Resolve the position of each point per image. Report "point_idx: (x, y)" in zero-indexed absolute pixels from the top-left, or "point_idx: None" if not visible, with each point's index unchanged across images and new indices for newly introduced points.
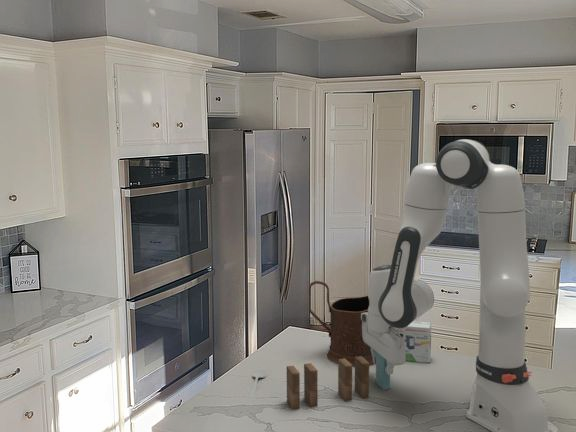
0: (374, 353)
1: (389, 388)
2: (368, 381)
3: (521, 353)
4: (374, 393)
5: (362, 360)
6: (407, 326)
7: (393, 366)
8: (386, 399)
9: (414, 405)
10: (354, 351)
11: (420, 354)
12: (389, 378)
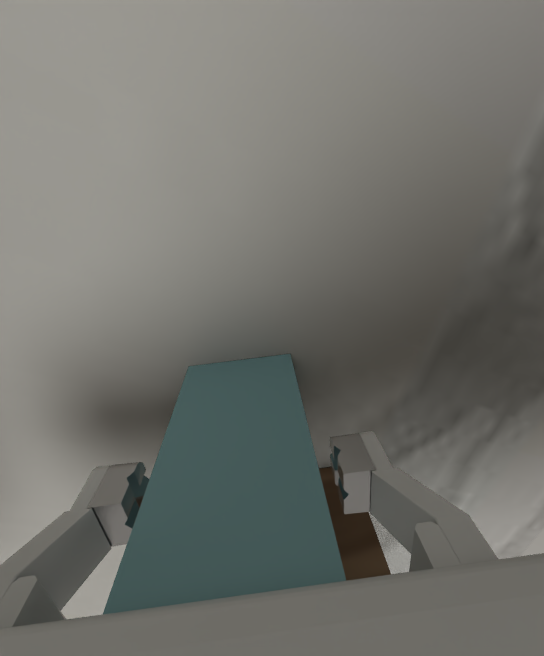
0: (72, 573)
1: (290, 357)
2: (380, 547)
3: None
4: (320, 435)
5: None
6: None
7: (421, 491)
8: (397, 404)
9: (518, 298)
10: None
11: None
12: (300, 395)
